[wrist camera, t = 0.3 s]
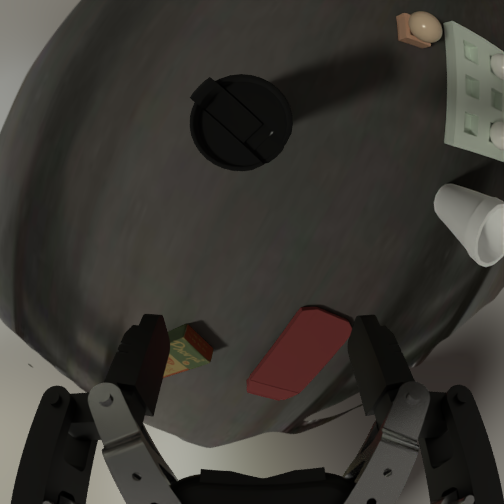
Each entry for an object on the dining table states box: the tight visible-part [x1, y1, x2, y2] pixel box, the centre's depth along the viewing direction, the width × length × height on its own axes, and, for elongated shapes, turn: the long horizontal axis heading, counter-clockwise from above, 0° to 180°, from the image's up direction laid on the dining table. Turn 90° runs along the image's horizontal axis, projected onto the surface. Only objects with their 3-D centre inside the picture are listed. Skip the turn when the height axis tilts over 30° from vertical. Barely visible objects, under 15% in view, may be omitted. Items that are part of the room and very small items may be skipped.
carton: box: [163, 324, 213, 378], centre depth 51 cm, size 8×16×4 cm, turn 121°
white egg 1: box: [490, 53, 504, 80], centre depth 20 cm, size 5×5×5 cm
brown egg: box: [408, 11, 442, 43], centre depth 20 cm, size 5×5×5 cm
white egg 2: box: [490, 122, 504, 151], centre depth 26 cm, size 5×5×5 cm
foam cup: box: [434, 184, 504, 267], centre depth 31 cm, size 10×9×13 cm
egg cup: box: [396, 13, 431, 48], centre depth 23 cm, size 4×4×2 cm
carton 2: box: [247, 307, 352, 400], centre depth 53 cm, size 12×5×25 cm
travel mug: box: [190, 74, 293, 171], centre depth 23 cm, size 6×7×20 cm
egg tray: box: [443, 21, 504, 162], centre depth 26 cm, size 21×14×2 cm, turn 0°
